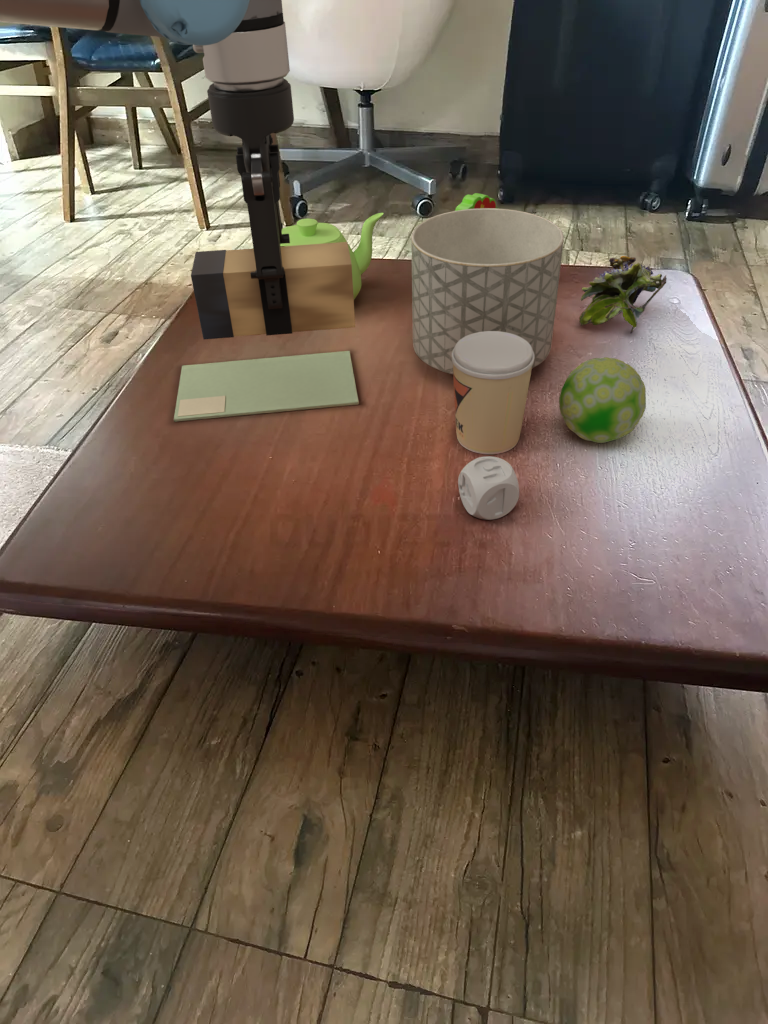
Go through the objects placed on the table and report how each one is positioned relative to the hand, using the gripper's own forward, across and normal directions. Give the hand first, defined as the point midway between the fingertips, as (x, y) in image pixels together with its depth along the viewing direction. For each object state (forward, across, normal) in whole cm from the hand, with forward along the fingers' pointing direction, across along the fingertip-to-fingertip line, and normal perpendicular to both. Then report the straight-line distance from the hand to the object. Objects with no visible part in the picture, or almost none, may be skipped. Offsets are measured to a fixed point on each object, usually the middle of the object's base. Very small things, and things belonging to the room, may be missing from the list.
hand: (279, 318), depth 85 cm
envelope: (+17, -15, -4) cm, 23 cm away
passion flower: (+17, -25, +49) cm, 58 cm away
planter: (+17, -16, +26) cm, 35 cm away
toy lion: (+17, -38, +28) cm, 50 cm away
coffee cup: (+17, +2, +24) cm, 29 cm away
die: (+17, +15, +21) cm, 31 cm away
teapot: (+17, -40, +5) cm, 44 cm away
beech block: (0, 0, 0) cm, 0 cm away
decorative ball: (+17, +4, +37) cm, 41 cm away
